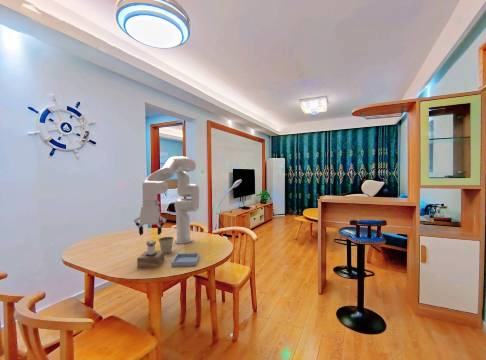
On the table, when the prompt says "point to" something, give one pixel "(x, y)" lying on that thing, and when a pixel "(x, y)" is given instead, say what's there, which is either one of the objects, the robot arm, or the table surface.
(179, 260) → the tray
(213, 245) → the table surface
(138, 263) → the socket block
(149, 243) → the pin
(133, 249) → the table surface
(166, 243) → the flower pot
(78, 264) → the table surface
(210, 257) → the table surface
